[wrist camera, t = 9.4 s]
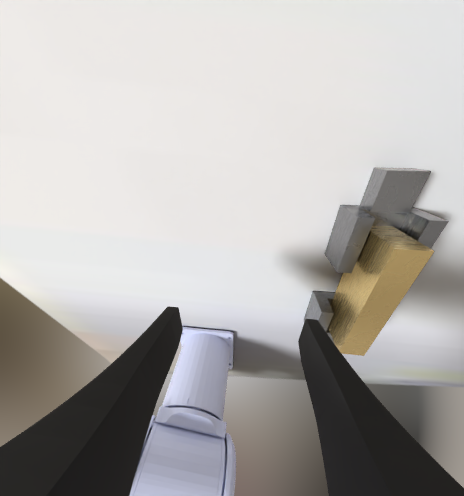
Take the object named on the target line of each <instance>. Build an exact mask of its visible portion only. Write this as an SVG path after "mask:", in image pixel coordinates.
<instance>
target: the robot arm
mask: <svg viewBox="0 0 464 496" xmlns="http://www.w3.org/2000/svg"><path fill="white" fill-rule="evenodd" d="M233 336H234V334H233V332H230V331H219V330H209V329H199V328H188V327H182V323H181V318H180V313H179V309H178V307H167V308H166V309H165V310H164V311H163V312H162V314H161V315H160V316H159V317H158V318H157V319H156V320H155V321H154V322H153V323H152V325H151V326H150V327H149V328H148V329H147V330H146V331H145V332H144V333H143V334H142V335H141V336H140V337H139V338H138V339H137V340H136V341H135V342H134V343H133V344H132V345H131V346H130V347H129V348H128V349H127V350H126V351H125V352H124V353H123V354H122V355H121V356H120V357H119V358H117V359H116V360H115V361H114V362H113V363H112V364H111V365H110V366H109V367H107V368H106V369H105V370H104V371H103V372H102V373H101V374H99V375H98V376H97V377H96V378H95V379H93V380H92V381H91V382H90V383H88V384H87V385H86V386H85V387H83V388H82V389H81V390H80V391H78V392H77V393H76V394H75V395H73V396H72V397H71V398H69V399H68V400H67V401H65V402H64V403H63V404H61V405H60V406H59V407H57V408H56V409H55V410H53V411H52V412H50V413H49V414H48V415H46V416H45V417H43V418H42V419H41V420H40V421H38V422H37V423H35V424H34V425H32V426H31V427H29V428H28V429H27V430H25V431H24V432H22V433H21V434H19V435H18V436H16V437H15V438H13V439H12V440H10V441H9V442H7V443H6V444H4V445H3V446H1V447H0V496H234V490H235V477H236V454H235V447H234V444H233V441H232V439H231V436H230V434H228V433H226V424H227V423H226V422H223V413H224V404H225V394H226V385H227V377H228V369H232V368H233ZM180 340H181V345H182V349H181V352H180V355H179V358H178V361H177V364H176V367H175V370H174V372H173V376H172V378H171V381H170V384H169V387H168V390H167V393H166V396H165V398H164V401H163V404H162V407H160V408H159V410H158V413H157V416H156V419H155V416H154V415H153V412H154V408H155V405H156V402H157V399H158V397H159V394H160V391H161V389H162V386H163V384H164V381H165V379H166V376H167V374H168V371H169V369H170V366H171V364H172V361H173V359H174V356H175V354H176V351H177V349H178V346H179V342H180ZM298 342H299V349H300V356H301V362H302V366H303V370H304V374H305V378H306V382H307V385H308V389H309V393H310V397H311V401H312V404H313V409H314V413H315V417H316V422H317V426H318V432H319V438H320V443H321V449H322V455H323V460H324V467H325V473H326V479H327V485H328V493H329V496H464V488H463V487H462V486H461V485H460V484H459V483H458V482H456V481H455V479H454V478H452V477H451V476H450V475H449V474H448V473H447V472H446V471H445V470H444V469H443V468H442V467H441V466H440V465H439V464H438V463H437V462H436V461H435V460H434V459H433V458H432V457H431V456H430V454H429V453H428V452H426V450H425V449H423V447H421V445H420V444H419V443H418V442H417V441H416V440H415V439H414V438H413V437H412V436H411V435H410V434H409V433H408V432H407V431H406V430H405V429H404V428H403V427H402V426H401V425H400V423H399V422H398V421H397V420H396V419H395V418H394V417H393V416H392V415H391V414H390V412H389V411H388V410H387V409H386V408H385V407H384V406H383V405H382V403H381V402H380V401H379V400H378V399H377V398H376V397H375V395H374V394H373V393H372V392H371V391H370V390H369V388H368V387H367V386H366V385H365V383H364V382H363V381H362V380H361V378H360V377H359V376H358V375H357V373H356V372H355V371H354V370H353V368H352V367H351V366H350V364H349V363H348V362H347V360H346V359H345V358H344V356H343V355H342V354H341V352H340V351H339V350H338V348H337V347H336V346H335V344H334V343H333V341H332V340H331V339H330V337H329V336H328V334H327V333H326V331H325V330H324V328H323V327H322V325H321V324H320V322H319V321H318V320H315V319H305V322H304V325H303V329H302V332H301V335H300V338H299V341H298Z"/></svg>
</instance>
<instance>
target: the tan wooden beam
mask: <svg viewBox="0 0 464 496" xmlns="http://www.w3.org/2000/svg"><path fill="white" fill-rule="evenodd" d="M433 253H434V251H433V250H432V249H430V248H428V247H427V246H425V245H423V244H422V243H420V242H418V241H417V240H415V239H413V238H412V237H410V236H408V235H406V234H405V233H403V232H401V231H400V230H398V229H396V228H395V227H393V226H372V227H371V229H370V232H369V234H368V236H367V239H366V241H365V243H364V246H363V248H362V250H361V252H360V255H359V257H358V259H357V262H356V264H355V266H354V269H353V271H352V273H343V275H342V277H341V280H340V282H339V285H338V287H337V290H336V292H335V295H334V297H333V300H332V302H331V305H330V306H331V308H332V310H333V312H334V315H333V317H332V319H331V322H330V324H329V326H328V329H329V331H330V334H331V336H332V339H333V341H334V344H335V346H336V347H337V348H338V350H339V351H340V352H341V353H343V354H353V355H362V356H364V355H365V353H366V352H367V350H368V349H369V347H370V346H371V344H372V343H373V341H374V340H375V338H376V337H377V336H378V334H379V333H380V331H381V330H382V328H383V327H384V325H385V324H386V322H387V321H388V319H389V318H390V316H391V315H392V313H393V312H394V310H395V309H396V307H397V306H398V304H399V303H400V301H401V300H402V299H403V297H404V296H405V294H406V293H407V291H408V290H409V288H410V287H411V285H412V284H413V282H414V281H415V279H416V278H417V276H418V275H419V273H420V272H421V270H422V269H423V267H424V266H425V264H426V263H427V262H428V260H429V259H430V257H431V256H432V254H433Z"/></svg>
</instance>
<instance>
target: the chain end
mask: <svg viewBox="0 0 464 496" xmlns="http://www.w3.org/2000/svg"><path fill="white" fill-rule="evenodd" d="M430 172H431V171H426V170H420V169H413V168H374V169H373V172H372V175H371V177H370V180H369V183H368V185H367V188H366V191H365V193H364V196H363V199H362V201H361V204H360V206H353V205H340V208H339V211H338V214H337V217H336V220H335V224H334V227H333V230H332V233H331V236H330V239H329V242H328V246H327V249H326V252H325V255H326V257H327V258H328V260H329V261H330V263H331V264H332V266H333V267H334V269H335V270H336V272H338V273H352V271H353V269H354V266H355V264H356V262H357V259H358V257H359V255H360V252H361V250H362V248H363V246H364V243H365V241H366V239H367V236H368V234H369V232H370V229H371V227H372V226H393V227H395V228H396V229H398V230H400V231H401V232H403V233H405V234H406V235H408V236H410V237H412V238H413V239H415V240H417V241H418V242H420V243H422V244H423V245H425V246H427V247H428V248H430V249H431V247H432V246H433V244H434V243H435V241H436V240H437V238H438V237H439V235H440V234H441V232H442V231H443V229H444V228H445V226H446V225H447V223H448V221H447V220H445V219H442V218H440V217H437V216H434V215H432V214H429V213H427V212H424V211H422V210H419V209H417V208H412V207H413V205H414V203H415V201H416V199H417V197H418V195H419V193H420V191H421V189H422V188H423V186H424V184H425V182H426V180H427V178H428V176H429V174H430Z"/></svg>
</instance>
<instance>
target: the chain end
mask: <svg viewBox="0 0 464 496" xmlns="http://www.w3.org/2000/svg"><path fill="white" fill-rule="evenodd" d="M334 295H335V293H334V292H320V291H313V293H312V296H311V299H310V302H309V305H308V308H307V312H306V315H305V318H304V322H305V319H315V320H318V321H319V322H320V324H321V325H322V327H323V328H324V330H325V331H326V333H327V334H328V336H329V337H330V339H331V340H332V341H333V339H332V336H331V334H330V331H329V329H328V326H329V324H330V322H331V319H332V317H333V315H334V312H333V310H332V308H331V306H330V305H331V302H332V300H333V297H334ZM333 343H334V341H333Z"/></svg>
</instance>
